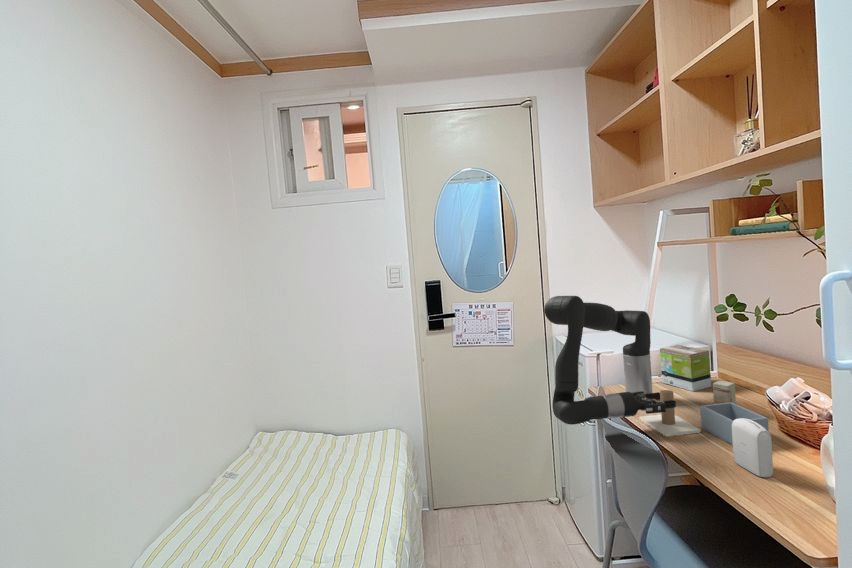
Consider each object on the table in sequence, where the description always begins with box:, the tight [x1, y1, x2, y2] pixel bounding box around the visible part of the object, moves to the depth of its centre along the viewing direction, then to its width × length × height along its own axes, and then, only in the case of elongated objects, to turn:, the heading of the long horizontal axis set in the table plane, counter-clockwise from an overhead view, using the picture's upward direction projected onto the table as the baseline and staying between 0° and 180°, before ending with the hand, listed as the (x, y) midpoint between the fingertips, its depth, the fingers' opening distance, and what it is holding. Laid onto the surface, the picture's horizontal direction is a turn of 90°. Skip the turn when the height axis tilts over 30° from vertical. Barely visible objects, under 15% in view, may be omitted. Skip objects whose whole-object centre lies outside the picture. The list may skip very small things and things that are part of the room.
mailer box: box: [699, 402, 770, 447], centre depth 145 cm, size 15×10×7 cm, turn 3°
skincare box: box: [712, 379, 737, 404], centre depth 163 cm, size 5×4×10 cm
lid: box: [639, 389, 702, 437], centre depth 157 cm, size 16×11×11 cm
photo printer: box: [732, 418, 774, 478], centre depth 124 cm, size 10×4×12 cm, turn 3°
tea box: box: [659, 344, 712, 392], centre depth 195 cm, size 15×10×15 cm, turn 21°
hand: (667, 399), depth 156 cm, fingers open, 8 cm apart
